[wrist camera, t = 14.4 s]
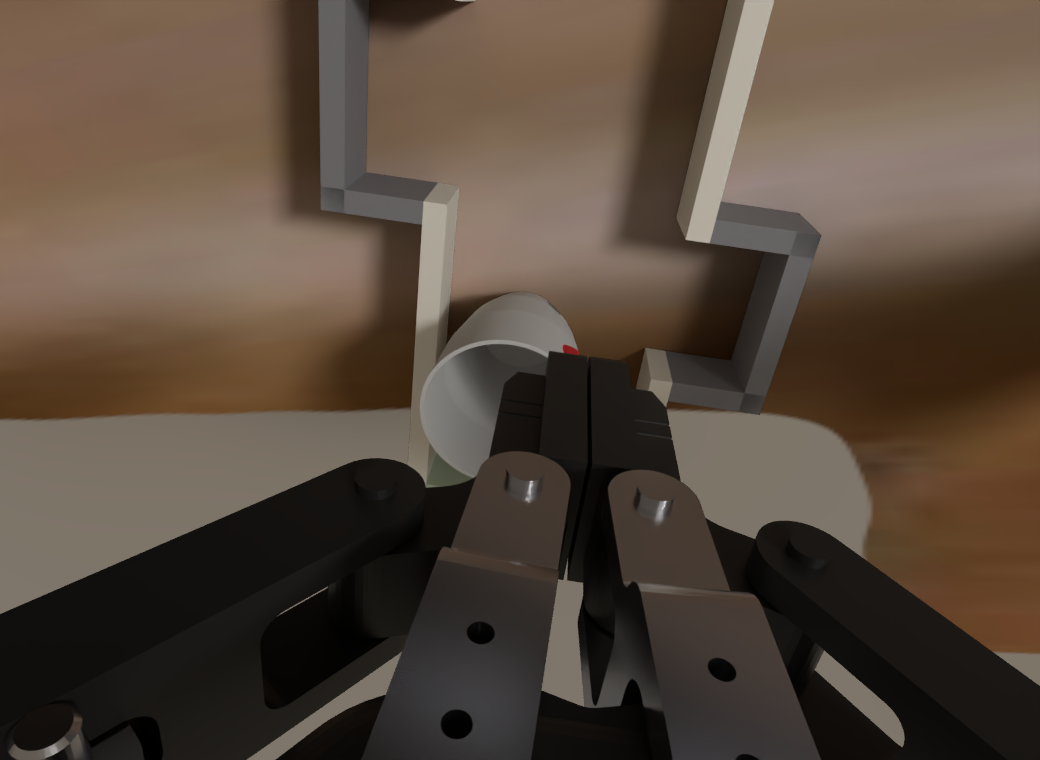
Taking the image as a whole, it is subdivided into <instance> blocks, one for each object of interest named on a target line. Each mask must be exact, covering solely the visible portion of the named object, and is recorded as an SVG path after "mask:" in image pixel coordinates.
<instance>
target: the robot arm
mask: <svg viewBox="0 0 1040 760" xmlns="http://www.w3.org/2000/svg"><path fill="white" fill-rule="evenodd" d="M671 438H672V435H671V430H670V427H669V420H668V415H667V410H666V407H665V406H664V404H663V403H662V402H661V401H660V400H659V399H658V398H657V396H656V395H655V394H654V393H653V392H652V391H646V390H640V389H633V388H631V382H630V374H629V366H628V362H623V361H617V360H610V359H603V358H596V357H589V359H588V363H587V356H582V355H575V354H569V353H562V352H555V351H549V354H548V359H547V365H546V372H545V375H538V374H531V373H524V372H517V373H516V374H515V375H513V376H512V377H511V378H510V379H509V380H508V381H506V382H505V383H504V387H503V392H502V397H501V402H500V406H499V411H498V416H497V420H496V425H495V430H494V435H493V439H492V444H491V449H490V454H489V458H488V459H487V460H486V461H484V463H483V464H482V465H481V466H480V468H479V471H478V473H477V476H476V477H474V478H472V479H470V480H468V481H466V482H463V483H460V484H456V485H451V486H442V487H428V488H426V486H425V482H424V480H423V478H422V476H421V475H420V474H419V473H418V472H417V471H416V470H415V469H413V468H412V467H410V466H408V465H406V464H404V463H401V462H398V461H395V460H390V459H381V458H373V459H372V458H371V459H363V460H358V461H354V462H351V463H348V464H346V465H343V466H341V467H339V468H336V469H334V470H332V471H329V472H327V473H325V474H323V475H320V476H318V477H316V478H313V479H311V480H309V481H307V482H304V483H302V484H300V485H297V486H295V487H293V488H290V489H288V490H286V491H284V492H281V493H279V494H276V495H274V496H272V497H269V498H267V499H265V500H263V501H260V502H258V503H256V504H253V505H251V506H249V507H246V508H244V509H242V510H240V511H237V512H235V513H233V514H230V515H228V516H226V517H224V518H221V519H219V520H217V521H214V522H212V523H209V524H207V525H205V526H203V527H200V528H198V529H196V530H193V531H191V532H189V533H187V534H184V535H182V536H180V537H177V538H175V539H173V540H170V541H168V542H166V543H163V544H161V545H159V546H157V547H154V548H152V549H150V550H147V551H145V552H143V553H140V554H138V555H136V556H133V557H131V558H129V559H126V560H124V561H122V562H119V563H117V564H115V565H113V566H110V567H108V568H106V569H103V570H101V571H99V572H96V573H94V574H92V575H89V576H87V577H85V578H83V579H80V580H78V581H76V582H73V583H71V584H69V585H67V586H64V587H62V588H60V589H57V590H55V591H53V592H50V593H48V594H46V595H43V596H41V597H39V598H36V599H34V600H32V601H29V602H27V603H25V604H23V605H20V606H18V607H16V608H13V609H11V610H9V611H6V612H4V613H2V614H0V760H247V759H248V758H249V757H251V756H252V755H254V754H255V753H257V752H258V751H260V750H261V749H262V748H264V747H265V746H267V745H268V744H270V743H271V742H272V741H274V740H275V739H277V738H278V737H280V736H281V735H283V734H284V733H285V732H287V731H288V730H290V729H291V728H293V727H294V726H295V725H297V724H298V723H300V722H301V721H303V720H304V719H305V718H307V717H308V716H310V715H311V714H313V713H314V712H316V711H317V710H319V709H320V708H322V707H323V706H324V705H326V704H327V703H329V702H330V701H331V700H333V699H334V698H336V697H337V696H339V695H340V694H342V693H343V692H345V691H346V690H347V689H349V688H350V687H352V686H353V685H354V684H356V683H357V682H359V681H360V680H362V679H363V678H365V677H366V676H368V675H369V674H370V673H372V672H373V671H375V670H376V669H378V668H379V667H380V666H382V665H383V664H385V663H386V662H388V661H389V660H391V659H392V658H393V657H395V656H396V655H398V654H399V653H400V652H402V653H401V656H400V658H399V661H398V664H397V666H396V669H395V671H394V674H393V677H392V679H391V682H390V685H389V687H388V690H387V693H386V695H383V696H380V697H377V698H374V699H371V700H368V701H365V702H363V703H360V704H358V705H356V706H354V707H351V708H349V709H347V710H345V711H343V712H342V713H340V714H338V715H337V716H335V717H333V718H331V719H330V720H328V721H327V722H325V723H324V724H322V725H321V726H320V727H318V728H317V729H315V730H314V731H313V732H311V733H310V734H309V735H307V736H306V737H305V738H304V739H302V740H301V741H300V742H298V743H297V744H296V745H294V746H293V747H292V748H290V749H289V750H288V751H287V752H285V753H284V754H283V755H281V756H280V757H279V758H277V759H276V760H1040V686H1039V685H1038V684H1036V683H1035V682H1033V681H1032V680H1031V679H1029V678H1028V677H1027V676H1025V675H1024V674H1022V673H1021V672H1019V671H1018V670H1017V669H1015V668H1014V667H1013V666H1011V665H1010V664H1009V663H1007V662H1006V661H1004V660H1003V659H1002V658H1000V657H999V656H997V655H996V654H995V653H993V652H992V651H991V650H989V649H988V648H986V647H985V646H984V645H982V644H981V643H980V642H978V641H977V640H975V639H974V638H973V637H971V636H970V635H968V634H967V633H966V632H964V631H963V630H962V629H960V628H959V627H957V626H956V625H955V624H953V623H952V622H951V621H949V620H948V619H946V618H945V617H944V616H942V615H941V614H939V613H938V612H937V611H935V610H934V609H933V608H931V607H930V606H928V605H927V604H926V603H924V602H923V601H921V600H920V599H919V598H917V597H916V596H915V595H913V594H912V593H910V592H909V591H908V590H906V589H905V588H903V587H902V586H901V585H899V584H898V583H897V582H895V581H894V580H892V579H891V578H890V577H888V576H887V575H886V574H884V573H883V572H881V571H880V570H879V569H877V568H876V567H874V566H873V565H872V564H870V563H869V562H868V561H866V560H865V559H863V558H862V557H861V556H859V555H858V554H856V553H855V552H854V551H852V550H851V549H849V548H848V547H847V546H845V545H844V544H843V543H841V542H840V541H839V540H837V539H836V538H834V537H833V536H831V535H830V534H828V533H826V532H824V531H822V530H820V529H818V528H815V527H813V526H810V525H807V524H804V523H799V522H793V521H775V522H771V523H768V524H766V525H764V526H763V527H762V528H761V529H760V530H759V532H758V534H757V536H756V539H753V538H750V537H748V536H745V535H742V534H740V533H737V532H734V531H732V530H729V529H726V528H724V527H722V526H719V525H717V524H715V523H713V522H711V521H710V520H708V519H707V518H705V516H704V513H703V510H702V507H701V504H700V502H699V499H698V498H697V496H696V495H695V493H694V492H693V491H692V490H691V489H690V488H689V487H688V486H686V485H685V484H684V483H682V482H681V481H680V476H679V470H678V465H677V460H676V456H675V450H674V445H673V441H672V440H671ZM567 559H568V575H567V580H569V581H575V582H582V583H583V599H582V603H581V608H580V612H579V616H578V635H579V647H580V659H581V671H582V684H583V695H584V707H583V706H580V705H577V704H575V703H572V702H569V701H567V700H564V699H562V698H559V697H557V696H554V695H552V694H549V693H546V692H544V691H541V690H542V683H543V676H544V670H545V663H546V657H547V650H548V643H549V636H550V630H551V624H552V617H553V610H554V604H555V597H556V590H557V583H558V579H560V580H563V579H564V574H565V569H566V564H567ZM327 586H328V588H327V589H325V590H324V591H322V592H320V593H318V594H316V595H314V596H313V597H311V598H309V599H307V600H306V601H304V602H302V603H300V604H298V605H297V606H295V607H293V608H291V609H290V610H288V611H286V612H284V613H283V614H281V615H279V614H280V613H282V612H283V611H285V610H286V609H288V608H290V607H292V606H293V605H295V604H297V603H299V602H301V601H302V600H304V599H306V598H308V597H310V596H311V595H313V594H315V593H317V592H318V591H320V590H322V589H324V588H326V587H327ZM278 615H279V616H278ZM824 650H825V651H826V652H827V653H828V654H829V655H830V656H832V657H833V658H834V659H835V660H836V661H837V662H839V663H840V664H841V665H842V666H843V667H844V668H845V669H847V670H848V671H849V672H850V673H851V674H852V675H854V676H855V677H856V678H857V679H858V680H859V681H860V682H862V683H863V684H864V685H865V686H866V687H867V688H869V689H870V690H871V691H872V692H873V693H875V694H876V695H877V696H878V697H879V698H880V699H881V700H882V701H884V702H885V703H886V704H887V705H888V706H889V707H890V708H891V709H892V710H893V711H894V713H895V714H896V716H897V717H898V718H899V720H900V722H901V725H902V727H903V730H904V735H905V741H904V746H903V747H901V746H899V745H898V744H897V743H895V742H894V741H893V740H892V739H891V738H890V737H888V736H887V735H886V734H885V733H884V732H883V731H882V730H881V729H880V728H879V727H877V726H876V725H875V724H874V723H873V722H872V721H871V720H870V719H869V718H867V717H866V716H865V715H864V714H863V713H862V712H861V711H860V710H859V709H857V708H856V707H855V706H854V705H853V704H852V703H851V702H850V701H848V700H847V699H846V698H845V697H844V696H843V695H842V694H841V693H840V692H838V691H837V690H836V689H835V688H834V687H833V686H832V685H831V684H830V683H828V682H827V681H826V680H825V679H824V678H823V677H822V676H821V675H820V674H818V673H817V672H816V671H815V668H816V666H817V664H818V662H819V660H820V658H821V655H822V654H823V651H824Z"/></svg>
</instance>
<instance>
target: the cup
mask: <svg viewBox="0 0 1040 760" xmlns="http://www.w3.org/2000/svg"><path fill="white" fill-rule="evenodd" d="M549 351H555V352H562V353H569V354H575V355H580V354H579V351H578V348H577V346H576V343H575V340H574V337H573V334H572V331H571V329H570V327H569V325H568V323H567V322H566V320H565V319H564V318H563V317H562V315H561V314H560V313H559V312H558V311H557V310H556V309H555V308H554V306H553V305H552V304H551V303H549V302H548V301H547V300H545V299H544V298H542V297H540V296H538V295H536V294H532V293H528V292H513V293H508V294H505V295H503V296H500V297H498V298H496V299H493V300H491V301H489V302H487V303H485V304H484V305H482V306H481V307H480V308H478V309H477V310H476V311H475V312H474V313H473V314H472V315H471V316H470V317H469V318H468V319H467V321H466V322H465V323H464V324H463V325H462V326H461V327H460V328H459V329H458V330H457V331H456V332H455V333H454V334H453V336H452V337H451V338H450V340H449V342H448V343H447V345H446V347H445V348H444V350H443V352H442V354H441V355H440V357H439V359H438V360H437V362H436V364H435V366H434V367H433V369H432V371H431V372H430V374H429V376H428V378H427V379H426V381H425V384H424V386H423V389H422V393H421V398H420V418H421V423H422V427H423V430H424V432H425V435H426V437H427V439H428V441H429V442H430V444H431V445H432V447H433V448H434V450H435V451H436V452H437V453H438V454H439V456H440V457H441V458H442V459H443V460H444V461H446V462H447V463H448V464H449V465H450V466H452V467H453V468H455V469H456V470H458V471H459V472H461V473H463V474H465V475H467V476H469V477H471V478H474V477H476V476H477V473H478V471H479V468H480V466H481V465H482V464H483V463H484V461H486V460H487V459H488V458H489V454H490V449H491V444H492V439H493V435H494V430H495V425H496V420H497V416H498V411H499V406H500V402H501V397H502V392H503V387H504V383H505V382H506V381H508V380H509V379H510V378H511V377H512V376H513V375H515V374H516V373H517V372H524V373H531V374H538V375H545V372H546V365H547V359H548V354H549Z"/></svg>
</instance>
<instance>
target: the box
mask: <svg viewBox="0 0 1040 760" xmlns="http://www.w3.org/2000/svg"><path fill="white" fill-rule="evenodd" d="M457 1H475V0H457ZM773 3H774V0H728V2H727V6H726V10H725V14H724V19H723V23H722V27H721V31H720V36H719V40H718V44H717V48H716V52H715V57H714V61H713V65H712V69H711V73H710V78H709V82H708V86H707V90H706V95H705V99H704V103H703V107H702V111H701V116H700V120H699V124H698V128H697V132H696V137H695V141H694V145H693V149H692V154H691V158H690V162H689V166H688V170H687V175H686V179H685V183H684V187H683V191H682V196H681V200H680V204H679V208H678V213H677V217H676V218H677V221H678V223H679V225H680V228H681V230H682V232H683V235H684V237H685V239H686V240H690V241H697V242H704V243H711V244H718V245H725V246H731V247H738V248H745V249H752V250H759V251H764V254H763V258H762V261H761V264H760V267H759V271H758V274H757V277H756V281H755V284H754V287H753V290H752V294H751V297H750V300H749V303H748V307H747V310H746V313H745V316H744V320H743V323H742V326H741V329H740V333H739V336H738V339H737V343H736V346H735V349H734V352H733V356H732V359H731V360H724V359H717V358H710V357H704V356H697V355H690V354H683V353H677V352H670V351H663V350H656V349H650V348H645V352H644V356H643V360H642V364H641V368H640V373H639V377H638V381H637V385H636V389H640V390H646V391H652V392H653V393H654V394H655V395H656V396H657V398H658V399H659V400H660V401H661V402H662V403H663V404H664V406H665V407H666V406H667V402H668V401H670V402H677V403H684V404H690V405H697V406H704V407H711V408H717V409H724V410H731V411H738V412H744V413H751V414H758V415H760V413H761V410H762V407H763V404H764V401H765V398H766V395H767V392H768V389H769V386H770V383H771V381H772V378H773V375H774V372H775V369H776V366H777V363H778V360H779V357H780V354H781V351H782V349H783V346H784V343H785V340H786V337H787V334H788V331H789V328H790V325H791V322H792V319H793V316H794V314H795V311H796V308H797V305H798V302H799V299H800V296H801V293H802V290H803V287H804V284H805V282H806V279H807V276H808V273H809V270H810V267H811V264H812V261H813V258H814V255H815V252H816V249H817V247H818V244H819V241H820V238H821V234H820V233H819V232H818V231H817V230H816V229H815V228H814V227H813V226H812V225H811V224H810V223H809V222H808V221H806V220H805V219H804V218H803V217H802V216H801V215H800V214H799V213H794V212H787V211H780V210H773V209H766V208H759V207H753V206H746V205H739V204H732V203H725V202H721V199H722V195H723V191H724V187H725V183H726V180H727V176H728V172H729V168H730V165H731V161H732V157H733V153H734V150H735V146H736V142H737V138H738V135H739V131H740V127H741V123H742V119H743V116H744V112H745V108H746V104H747V101H748V97H749V93H750V89H751V86H752V82H753V78H754V74H755V70H756V67H757V63H758V59H759V55H760V52H761V48H762V44H763V40H764V37H765V33H766V29H767V25H768V22H769V18H770V14H771V10H772V6H773ZM318 8H319V93H320V178H321V210H325V211H332V212H338V213H345V214H352V215H359V216H366V217H373V218H379V219H386V220H393V221H400V222H407V223H413V224H420V225H422V235H421V252H420V268H419V285H418V302H417V319H416V336H415V352H414V369H413V386H412V403H411V421H410V437H409V453H408V466H410V467H412V468H413V469H415V470H416V471H417V472H418V473H419V474H420V475H421V476H422V478H423V480H424V482H425V486H426V488H428V487H442V486H451V485H456V484H460V483H463V482H466V481H468V480H470V479H472V478H471V477H469V476H467V475H465V474H463V473H461V472H459V471H458V470H456V469H455V468H453V467H452V466H450V465H449V464H448V463H447V462H446V461H444V460H443V459H442V458H441V457H440V456H439V454H438V453H437V452H436V451H435V450H434V448H433V447H432V445H431V444H430V442H429V441H428V439H427V437H426V435H425V432H424V430H423V427H422V423H421V418H420V398H421V393H422V389H423V386H424V384H425V381H426V379H427V378H428V376H429V374H430V372H431V371H432V369H433V367H434V366H435V364H436V362H437V360H438V359H439V357H440V355H441V354H442V352H443V350H444V348H445V347H446V342H447V330H448V318H449V306H450V294H451V282H452V270H453V258H454V246H455V234H456V222H457V210H458V198H459V186H455V185H448V184H441V183H435V182H428V181H421V180H414V179H407V178H401V177H394V176H387V175H380V174H373V173H366V143H367V90H368V38H369V0H318Z"/></svg>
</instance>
